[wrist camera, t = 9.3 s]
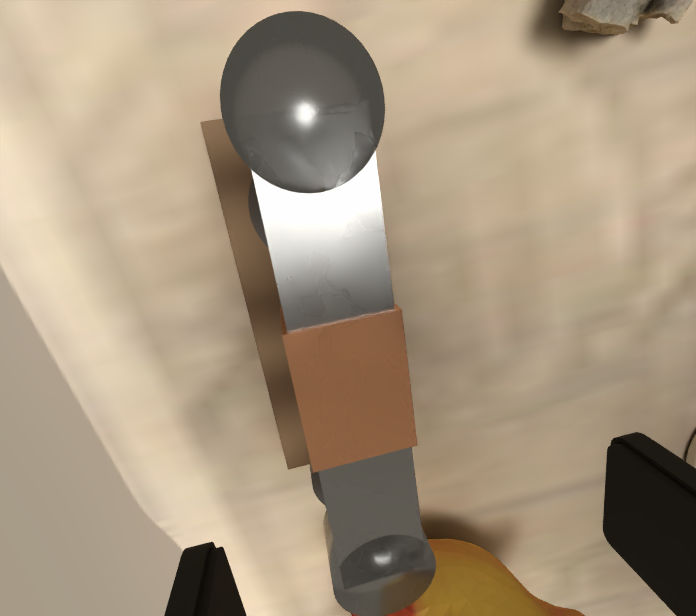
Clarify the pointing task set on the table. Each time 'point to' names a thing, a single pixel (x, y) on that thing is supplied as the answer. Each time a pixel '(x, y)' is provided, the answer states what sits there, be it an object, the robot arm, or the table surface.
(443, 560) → the toy
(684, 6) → the rock
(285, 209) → the two-ball handle bar
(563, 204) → the table surface
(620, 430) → the table surface
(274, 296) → the rack
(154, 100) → the table surface
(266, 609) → the table surface
